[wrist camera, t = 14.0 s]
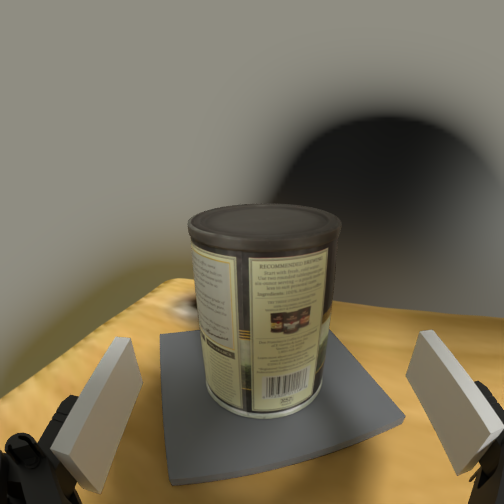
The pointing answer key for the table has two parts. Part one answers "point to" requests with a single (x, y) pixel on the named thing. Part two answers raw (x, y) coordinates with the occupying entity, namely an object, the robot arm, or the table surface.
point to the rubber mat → (262, 430)
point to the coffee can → (264, 303)
